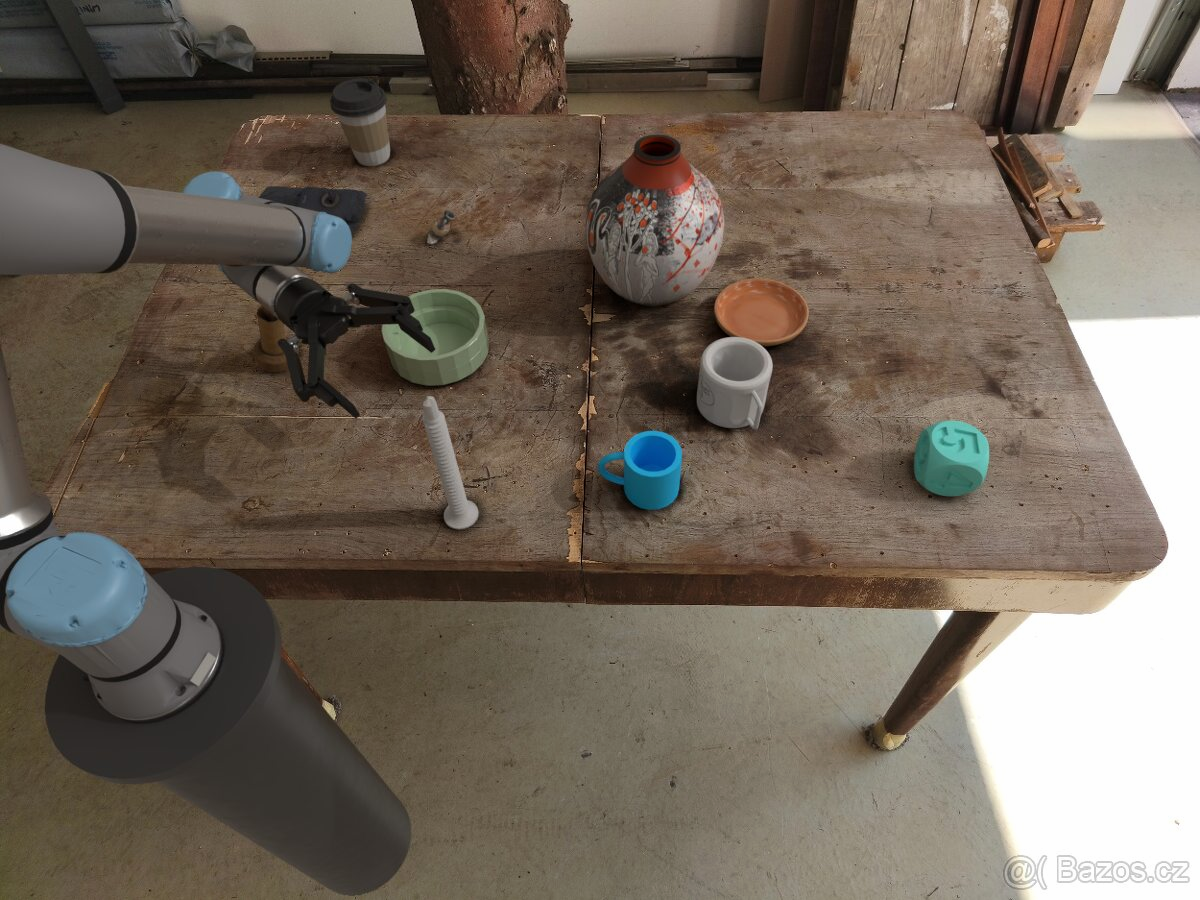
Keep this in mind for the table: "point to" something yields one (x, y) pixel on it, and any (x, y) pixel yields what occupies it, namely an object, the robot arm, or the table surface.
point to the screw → (447, 468)
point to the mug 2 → (734, 382)
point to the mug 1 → (648, 469)
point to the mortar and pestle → (270, 342)
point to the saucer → (761, 311)
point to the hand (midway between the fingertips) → (393, 377)
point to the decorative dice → (951, 458)
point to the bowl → (440, 338)
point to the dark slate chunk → (322, 201)
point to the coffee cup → (363, 119)
